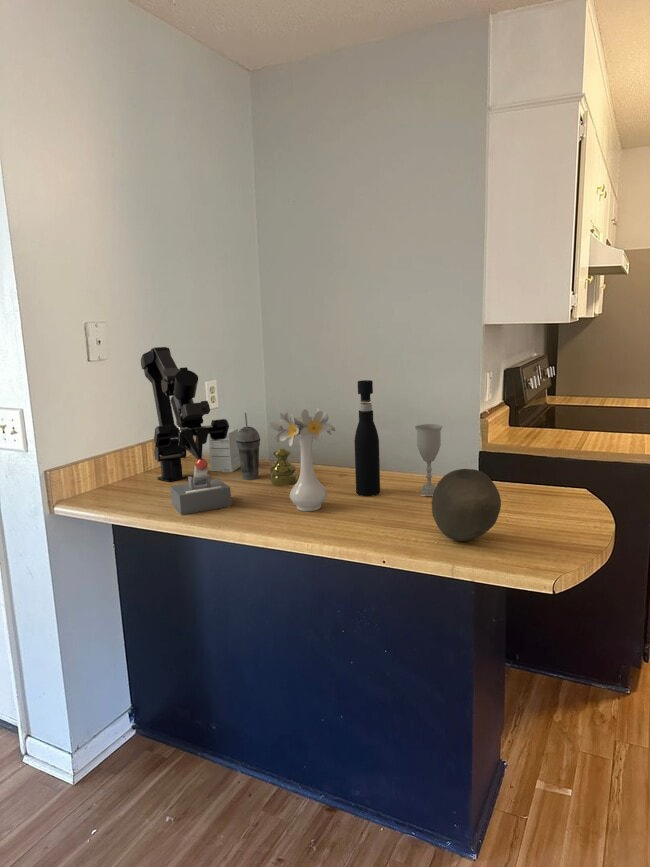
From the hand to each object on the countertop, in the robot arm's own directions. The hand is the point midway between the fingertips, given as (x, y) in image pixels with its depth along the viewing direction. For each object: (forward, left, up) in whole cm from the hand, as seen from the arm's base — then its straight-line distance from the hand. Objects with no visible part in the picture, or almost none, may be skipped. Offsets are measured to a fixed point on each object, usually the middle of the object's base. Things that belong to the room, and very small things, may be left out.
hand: (200, 458), depth 158 cm
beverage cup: (-12, +27, -13) cm, 32 cm away
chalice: (+41, +42, -13) cm, 60 cm away
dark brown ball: (+65, +18, -13) cm, 68 cm away
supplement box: (-27, +30, -13) cm, 43 cm away
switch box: (-2, +1, -13) cm, 13 cm away
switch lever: (-2, +1, -7) cm, 7 cm away
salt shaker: (0, +29, -13) cm, 32 cm away
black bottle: (+27, +34, -13) cm, 45 cm away
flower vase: (+22, +15, -13) cm, 29 cm away
